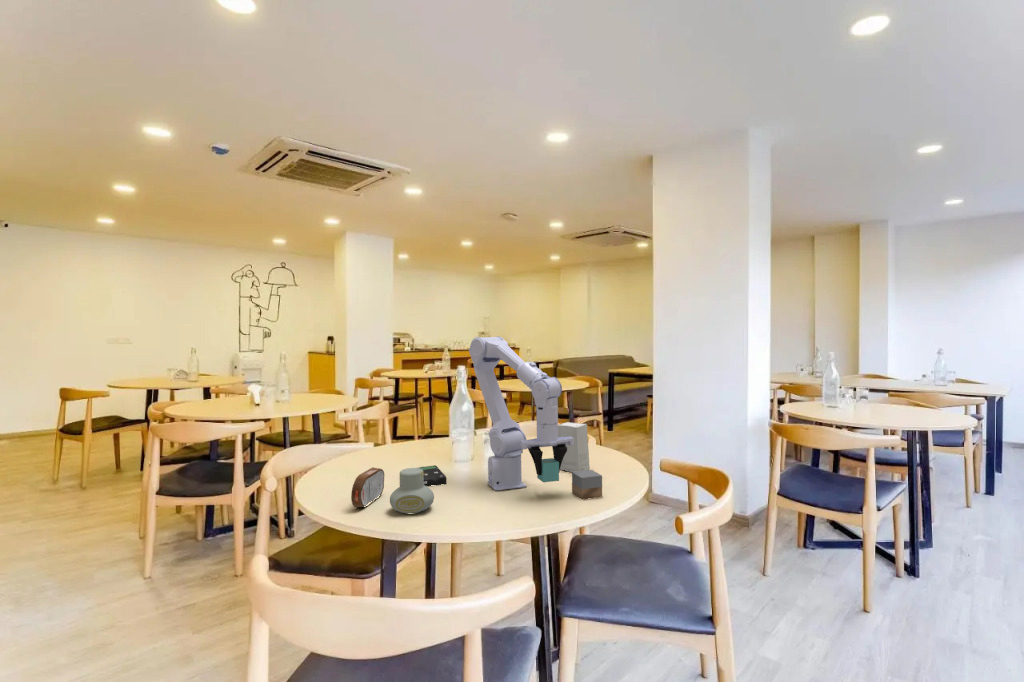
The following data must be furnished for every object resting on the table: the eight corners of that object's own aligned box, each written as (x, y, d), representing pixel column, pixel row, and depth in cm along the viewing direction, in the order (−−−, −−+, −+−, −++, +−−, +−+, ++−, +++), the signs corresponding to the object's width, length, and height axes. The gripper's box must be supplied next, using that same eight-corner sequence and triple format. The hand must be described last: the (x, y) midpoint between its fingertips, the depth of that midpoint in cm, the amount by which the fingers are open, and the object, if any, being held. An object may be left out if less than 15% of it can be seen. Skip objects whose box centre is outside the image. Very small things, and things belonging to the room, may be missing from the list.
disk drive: (447, 486, 149) (436, 473, 163) (447, 476, 149) (436, 464, 163) (412, 490, 145) (403, 476, 159) (412, 481, 145) (403, 468, 159)
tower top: (581, 489, 133) (581, 477, 133) (572, 482, 138) (571, 472, 138) (602, 486, 135) (602, 475, 135) (591, 480, 140) (591, 469, 140)
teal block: (543, 482, 133) (543, 463, 133) (537, 477, 138) (537, 459, 138) (559, 480, 135) (558, 462, 135) (552, 476, 139) (552, 458, 139)
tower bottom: (581, 500, 133) (581, 489, 133) (572, 493, 139) (571, 482, 138) (602, 497, 135) (602, 486, 135) (591, 491, 140) (591, 480, 140)
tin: (376, 493, 141) (375, 463, 141) (386, 494, 141) (386, 463, 141) (350, 512, 127) (349, 479, 126) (362, 513, 126) (361, 479, 126)
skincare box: (590, 470, 161) (589, 423, 160) (578, 474, 156) (577, 426, 156) (569, 466, 167) (568, 421, 166) (557, 469, 162) (556, 423, 162)
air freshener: (387, 517, 123) (386, 476, 123) (393, 505, 131) (392, 467, 131) (432, 515, 124) (431, 474, 123) (435, 503, 132) (434, 465, 132)
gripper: (526, 427, 130) (527, 480, 130) (578, 423, 134) (578, 474, 135) (518, 422, 137) (518, 473, 137) (567, 419, 141) (568, 467, 141)
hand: (547, 473), depth 136 cm, fingers closed on teal block, 4 cm apart
